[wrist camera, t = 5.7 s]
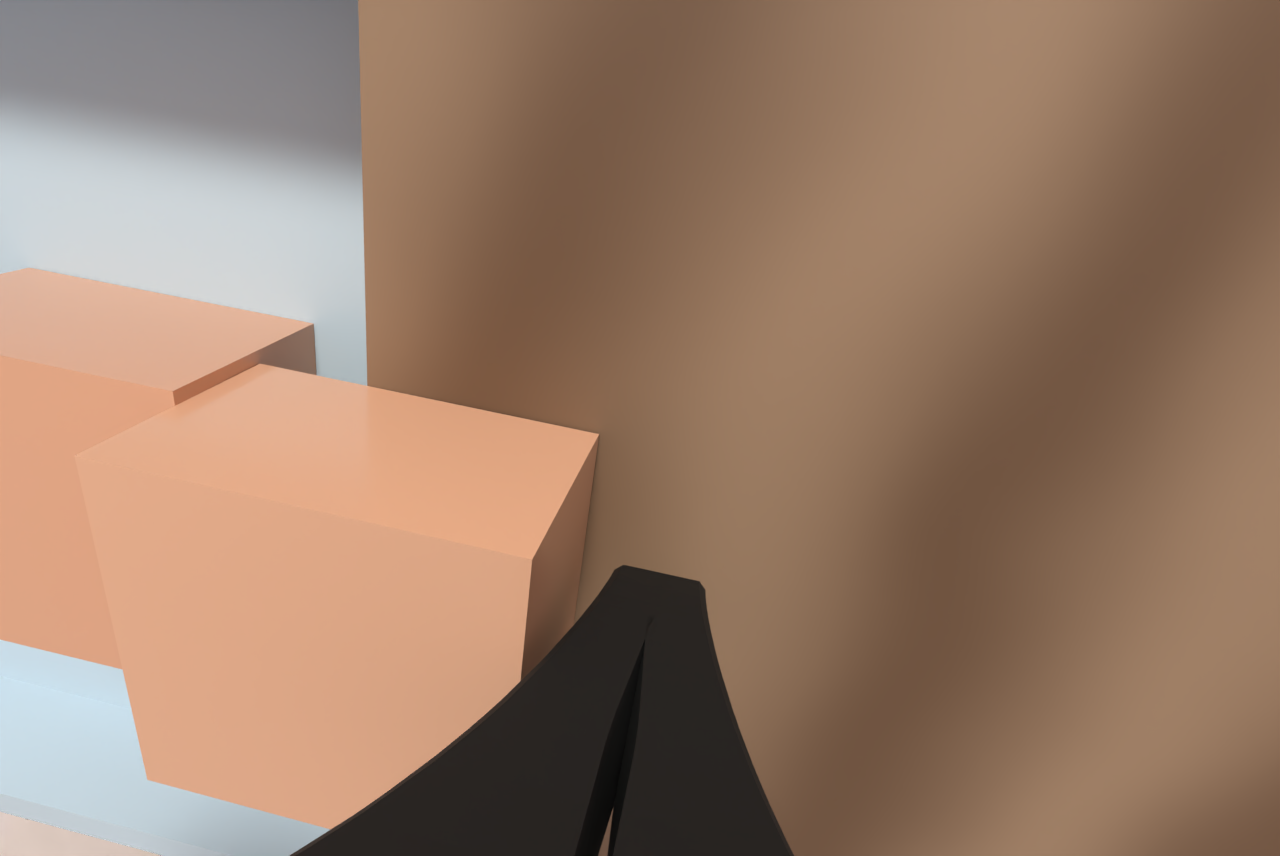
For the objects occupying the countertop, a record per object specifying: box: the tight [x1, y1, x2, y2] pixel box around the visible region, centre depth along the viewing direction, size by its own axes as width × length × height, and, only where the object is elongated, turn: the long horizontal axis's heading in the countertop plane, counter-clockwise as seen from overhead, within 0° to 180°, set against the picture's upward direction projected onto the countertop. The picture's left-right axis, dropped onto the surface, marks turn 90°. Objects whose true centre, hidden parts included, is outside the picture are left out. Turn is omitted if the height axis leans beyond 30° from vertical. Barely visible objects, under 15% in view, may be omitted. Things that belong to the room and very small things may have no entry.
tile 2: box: [75, 364, 599, 829], centre depth 10 cm, size 5×5×3 cm
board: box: [358, 0, 1280, 856], centre depth 11 cm, size 18×20×2 cm
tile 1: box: [0, 268, 317, 669], centre depth 11 cm, size 5×5×3 cm
